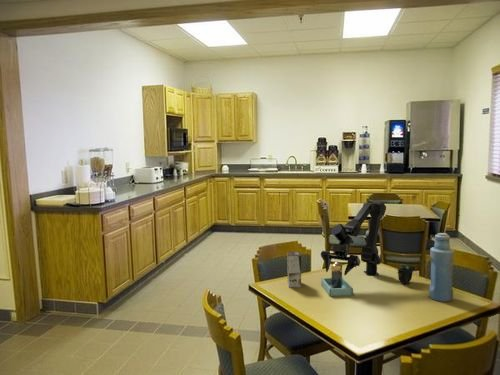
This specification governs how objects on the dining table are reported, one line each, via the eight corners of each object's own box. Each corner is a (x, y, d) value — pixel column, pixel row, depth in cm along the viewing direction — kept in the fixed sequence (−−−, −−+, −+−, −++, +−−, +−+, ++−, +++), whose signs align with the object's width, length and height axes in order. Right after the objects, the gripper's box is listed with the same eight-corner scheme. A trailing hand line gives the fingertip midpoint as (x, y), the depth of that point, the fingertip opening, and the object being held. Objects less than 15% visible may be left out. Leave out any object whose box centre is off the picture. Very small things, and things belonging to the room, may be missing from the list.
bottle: (455, 303, 176) (458, 236, 173) (431, 301, 178) (433, 235, 175) (449, 295, 185) (451, 231, 182) (426, 293, 187) (428, 231, 184)
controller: (395, 284, 200) (396, 265, 199) (407, 278, 208) (408, 260, 207) (404, 286, 197) (404, 266, 196) (415, 280, 205) (416, 262, 204)
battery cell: (330, 287, 196) (330, 261, 194) (340, 286, 196) (340, 261, 195) (332, 290, 191) (333, 264, 189) (343, 290, 191) (343, 264, 190)
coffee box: (301, 287, 198) (301, 255, 196) (288, 287, 198) (288, 255, 196) (299, 281, 207) (299, 251, 205) (287, 281, 207) (287, 251, 205)
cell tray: (321, 284, 201) (321, 278, 201) (342, 284, 202) (342, 277, 201) (329, 296, 185) (329, 289, 185) (352, 295, 186) (352, 288, 185)
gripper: (322, 234, 199) (312, 261, 191) (358, 239, 189) (350, 267, 181) (328, 246, 207) (319, 273, 199) (363, 251, 196) (355, 279, 188)
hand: (335, 273), depth 191 cm, fingers open, 9 cm apart
